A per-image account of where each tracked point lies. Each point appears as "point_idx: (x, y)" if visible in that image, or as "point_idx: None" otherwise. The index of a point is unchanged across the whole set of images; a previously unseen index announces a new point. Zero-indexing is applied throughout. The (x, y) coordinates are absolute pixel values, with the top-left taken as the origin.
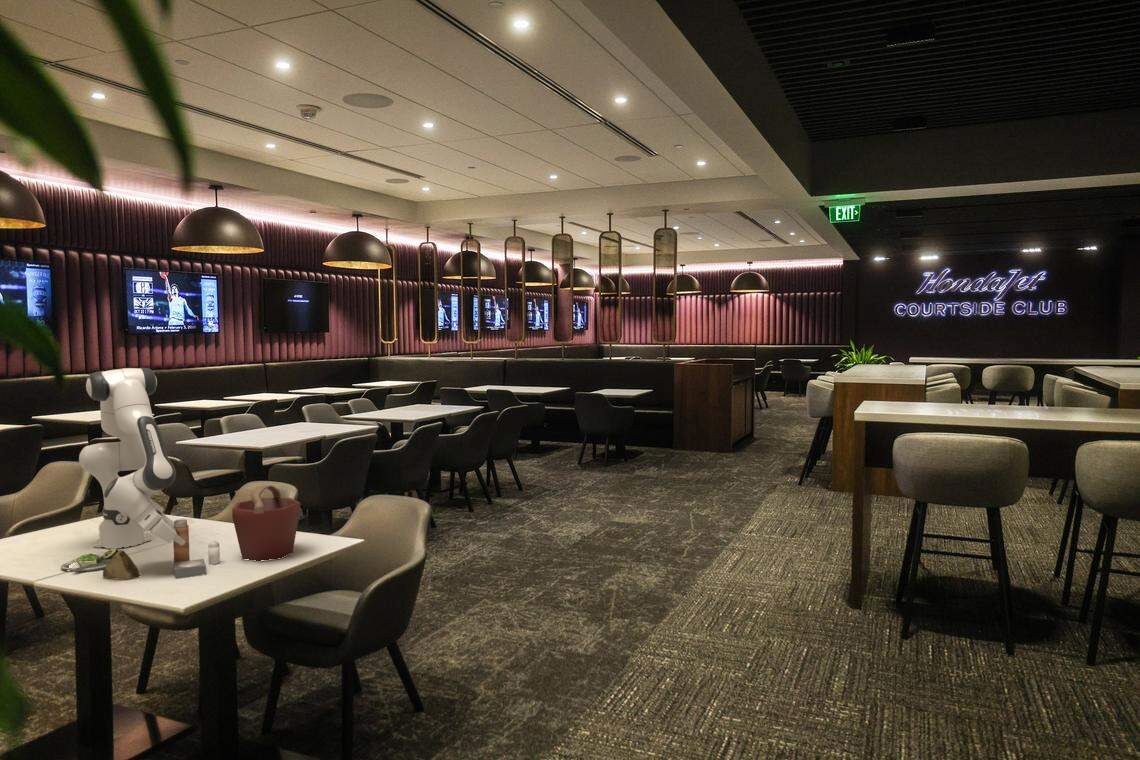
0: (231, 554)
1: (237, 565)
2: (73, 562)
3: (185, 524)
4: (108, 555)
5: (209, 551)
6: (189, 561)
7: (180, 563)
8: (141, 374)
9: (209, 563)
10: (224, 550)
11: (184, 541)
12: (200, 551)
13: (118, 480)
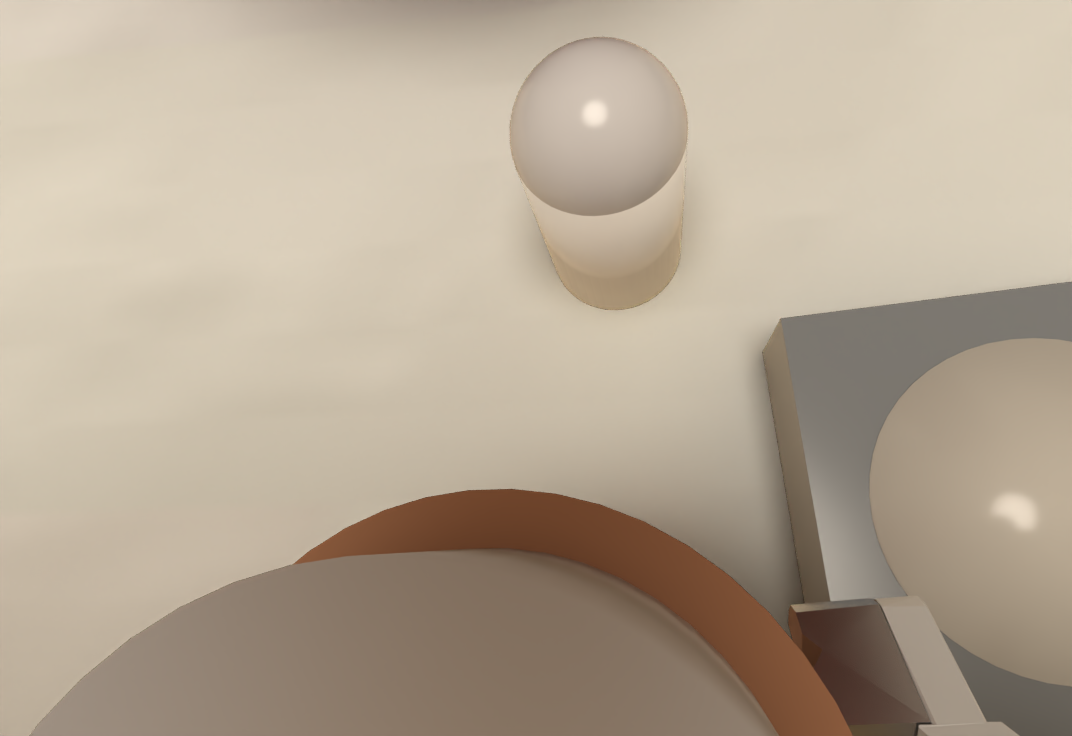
0: (329, 106)
1: (821, 5)
2: None
3: (691, 645)
4: None
5: (656, 222)
6: (893, 514)
7: (975, 654)
8: None
9: (653, 292)
10: (136, 185)
11: (925, 619)
12: (38, 425)
13: None
